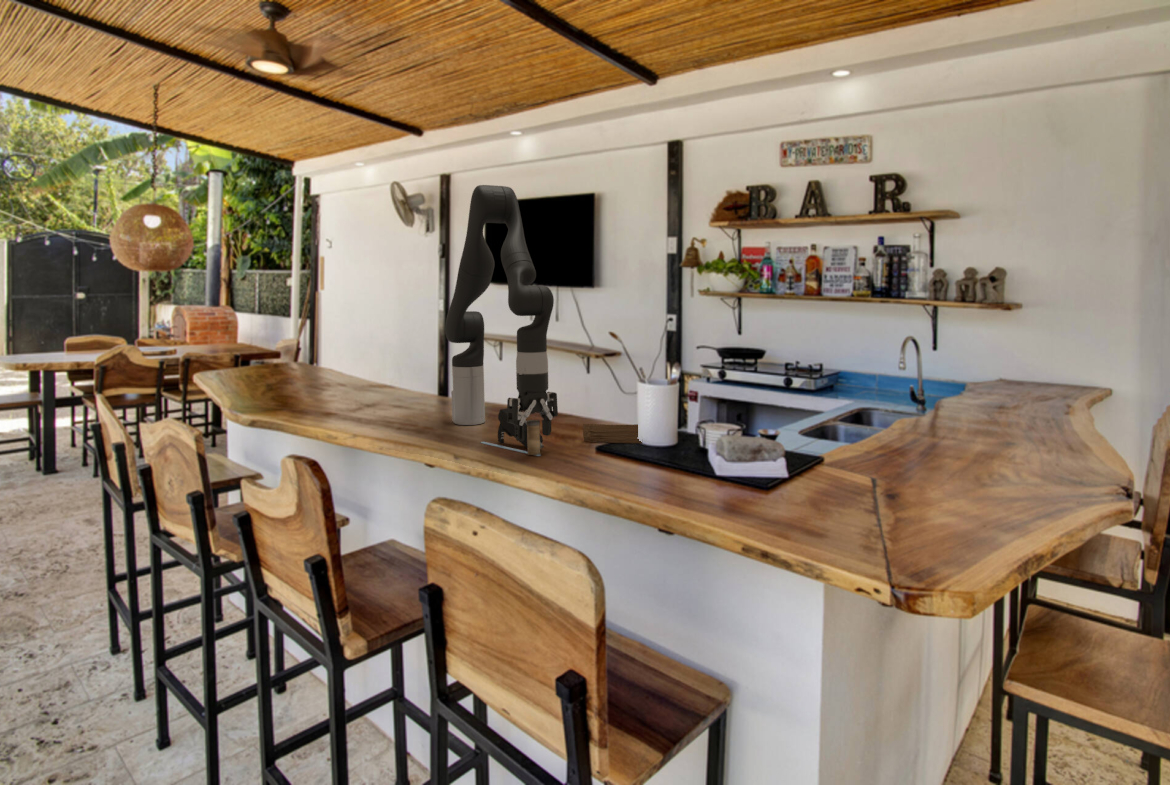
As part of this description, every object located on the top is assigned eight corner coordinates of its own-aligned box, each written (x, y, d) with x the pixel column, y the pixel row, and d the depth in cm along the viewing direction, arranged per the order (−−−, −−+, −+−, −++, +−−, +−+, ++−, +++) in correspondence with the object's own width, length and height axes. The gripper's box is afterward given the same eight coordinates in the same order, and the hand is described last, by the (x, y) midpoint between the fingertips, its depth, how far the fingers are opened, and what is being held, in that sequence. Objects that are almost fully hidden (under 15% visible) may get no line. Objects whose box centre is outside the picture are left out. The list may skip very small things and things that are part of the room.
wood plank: (642, 442, 179) (642, 423, 178) (642, 444, 177) (642, 425, 176) (583, 441, 181) (583, 422, 180) (582, 442, 179) (582, 424, 178)
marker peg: (524, 453, 166) (524, 421, 165) (534, 451, 168) (533, 419, 167) (533, 455, 164) (532, 422, 163) (543, 453, 166) (542, 420, 165)
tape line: (480, 442, 179) (480, 442, 179) (483, 442, 180) (483, 441, 180) (537, 456, 164) (537, 455, 164) (540, 455, 165) (540, 454, 165)
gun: (528, 472, 172) (541, 439, 168) (488, 435, 180) (500, 403, 176) (536, 469, 174) (549, 437, 170) (496, 433, 182) (508, 402, 178)
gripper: (543, 367, 171) (544, 431, 173) (498, 372, 161) (500, 440, 163) (564, 369, 166) (565, 435, 168) (520, 374, 156) (521, 445, 158)
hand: (533, 437), depth 166 cm, fingers open, 8 cm apart
